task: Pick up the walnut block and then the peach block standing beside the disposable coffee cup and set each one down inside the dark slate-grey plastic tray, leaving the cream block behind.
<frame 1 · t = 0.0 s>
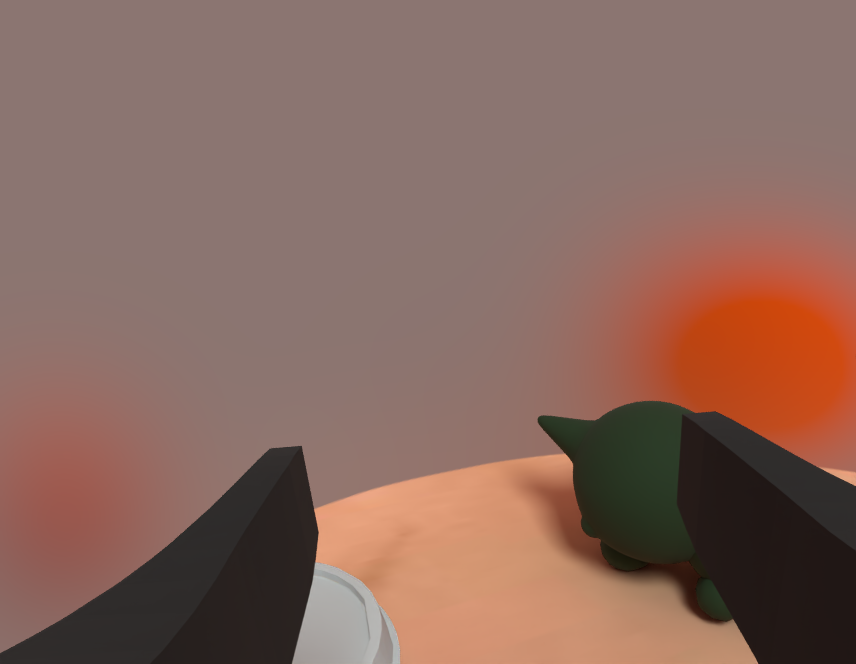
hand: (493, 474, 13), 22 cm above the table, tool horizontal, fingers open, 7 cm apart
toy figurine: (740, 600, 39), on the table
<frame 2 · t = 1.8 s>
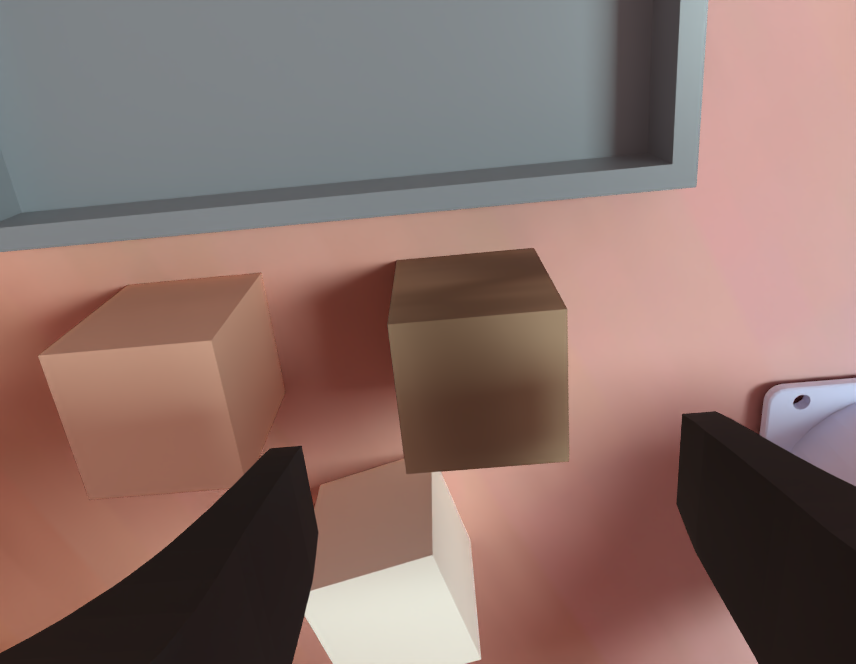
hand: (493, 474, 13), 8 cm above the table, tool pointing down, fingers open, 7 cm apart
peach block: (209, 340, 20), on the table
walnut block: (469, 317, 20), on the table
cream block: (396, 512, 23), on the table
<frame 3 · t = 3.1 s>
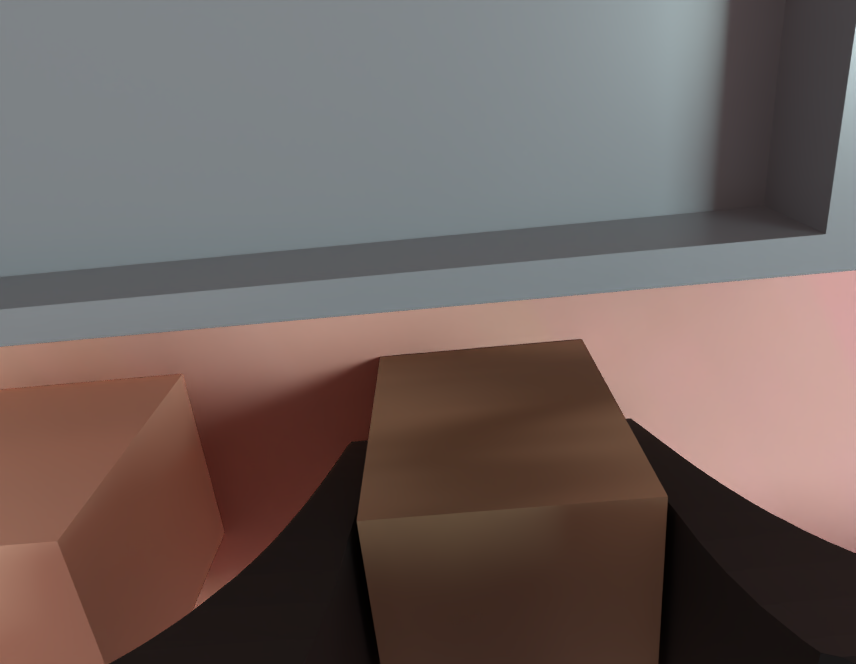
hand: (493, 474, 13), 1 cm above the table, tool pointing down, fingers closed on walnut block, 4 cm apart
peach block: (113, 464, 14), on the table
walnut block: (486, 434, 14), on the table, touching gripper
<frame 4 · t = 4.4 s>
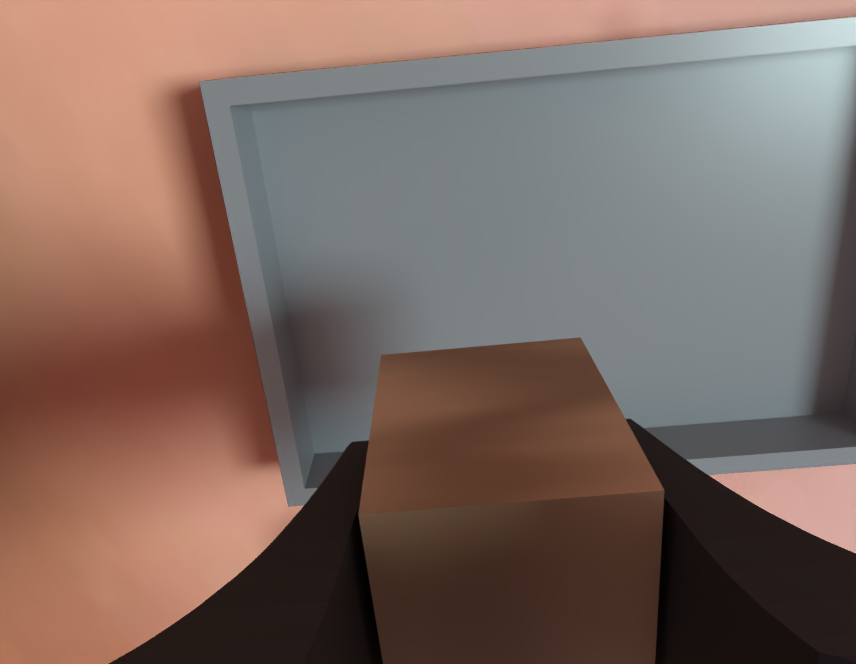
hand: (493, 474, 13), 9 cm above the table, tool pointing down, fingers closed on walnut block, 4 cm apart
tray: (569, 265, 20), on the table
walnut block: (486, 432, 14), point 7 cm above the table, touching gripper
when the fingers open (3 cm above the table, at t = 6.0 s): walnut block stays where it is, resting on tray.
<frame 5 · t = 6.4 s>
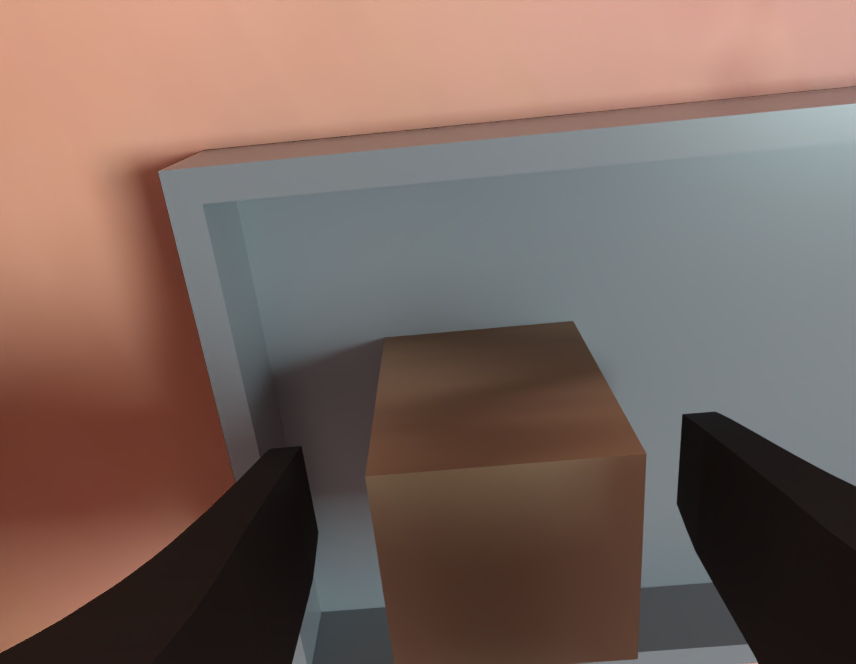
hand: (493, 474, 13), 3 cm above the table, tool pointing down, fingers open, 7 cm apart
tray: (654, 383, 15), on the table
walnut block: (483, 411, 15), point 1 cm above the table, touching tray
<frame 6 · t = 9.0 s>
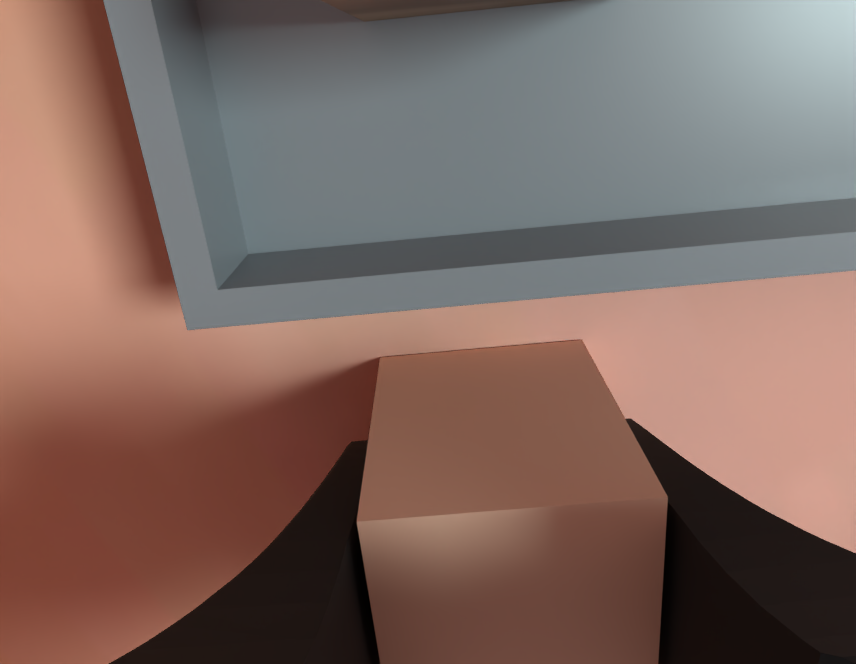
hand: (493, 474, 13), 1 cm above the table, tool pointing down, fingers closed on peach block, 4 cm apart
peach block: (486, 435, 14), on the table, touching gripper
when the fingers open (3 cm above the table, at t = 12.0 s): peach block stays where it is, resting on tray.
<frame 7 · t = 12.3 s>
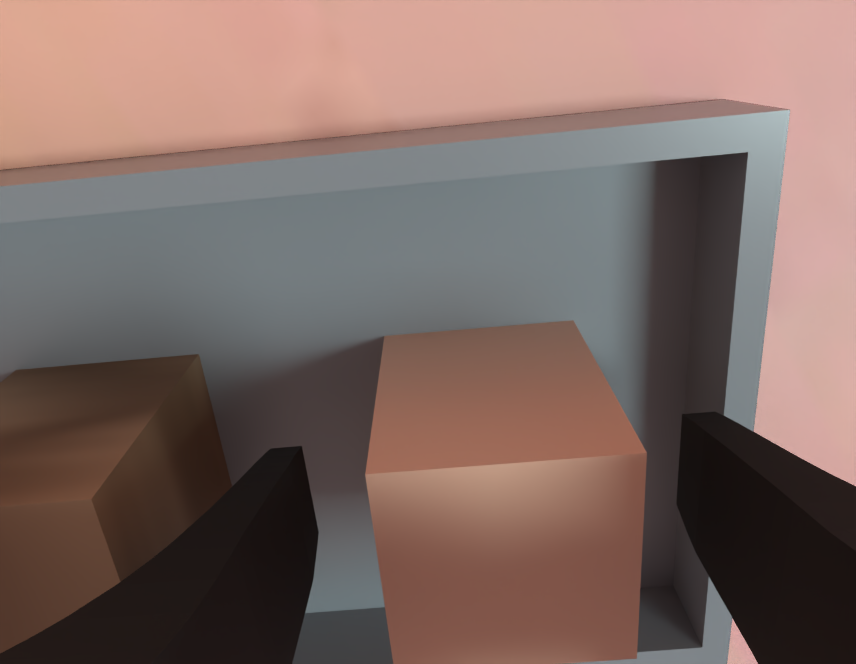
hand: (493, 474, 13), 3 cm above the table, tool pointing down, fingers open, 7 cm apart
peach block: (483, 410, 15), point 1 cm above the table, touching tray
tray: (309, 413, 15), on the table
walnut block: (131, 441, 15), point 1 cm above the table, touching tray
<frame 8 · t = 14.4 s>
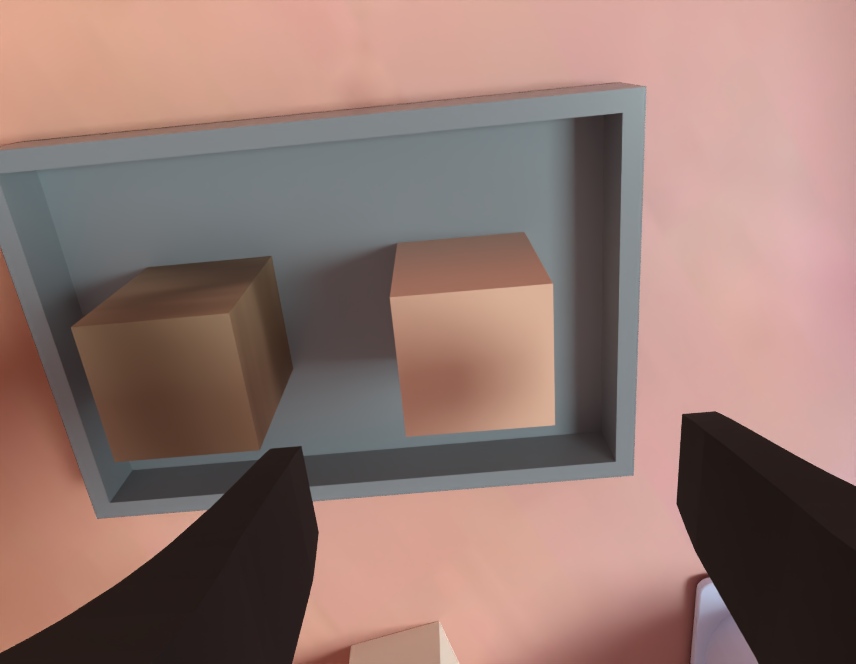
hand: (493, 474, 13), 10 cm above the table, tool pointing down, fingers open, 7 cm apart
peach block: (464, 297, 22), point 1 cm above the table, touching tray
tray: (344, 302, 22), on the table
walnut block: (222, 319, 22), point 1 cm above the table, touching tray
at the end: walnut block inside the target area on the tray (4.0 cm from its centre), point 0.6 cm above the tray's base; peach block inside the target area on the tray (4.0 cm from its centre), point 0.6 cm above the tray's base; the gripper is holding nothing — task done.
